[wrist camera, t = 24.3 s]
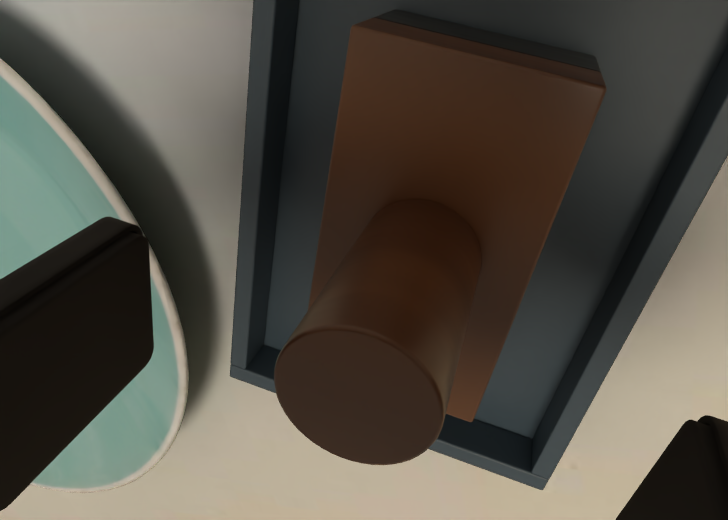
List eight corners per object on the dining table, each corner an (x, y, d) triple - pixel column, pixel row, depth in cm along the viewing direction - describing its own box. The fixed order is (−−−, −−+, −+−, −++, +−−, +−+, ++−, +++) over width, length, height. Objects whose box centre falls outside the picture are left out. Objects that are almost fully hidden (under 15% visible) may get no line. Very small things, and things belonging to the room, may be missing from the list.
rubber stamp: (394, 8, 14) (221, 70, 7) (597, 56, 13) (643, 184, 6) (339, 297, 19) (204, 513, 11) (486, 346, 18) (438, 610, 11)
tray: (299, -132, 14) (261, -144, 12) (790, -35, 12) (831, -32, 10) (255, 342, 22) (228, 377, 20) (544, 443, 20) (543, 491, 18)
